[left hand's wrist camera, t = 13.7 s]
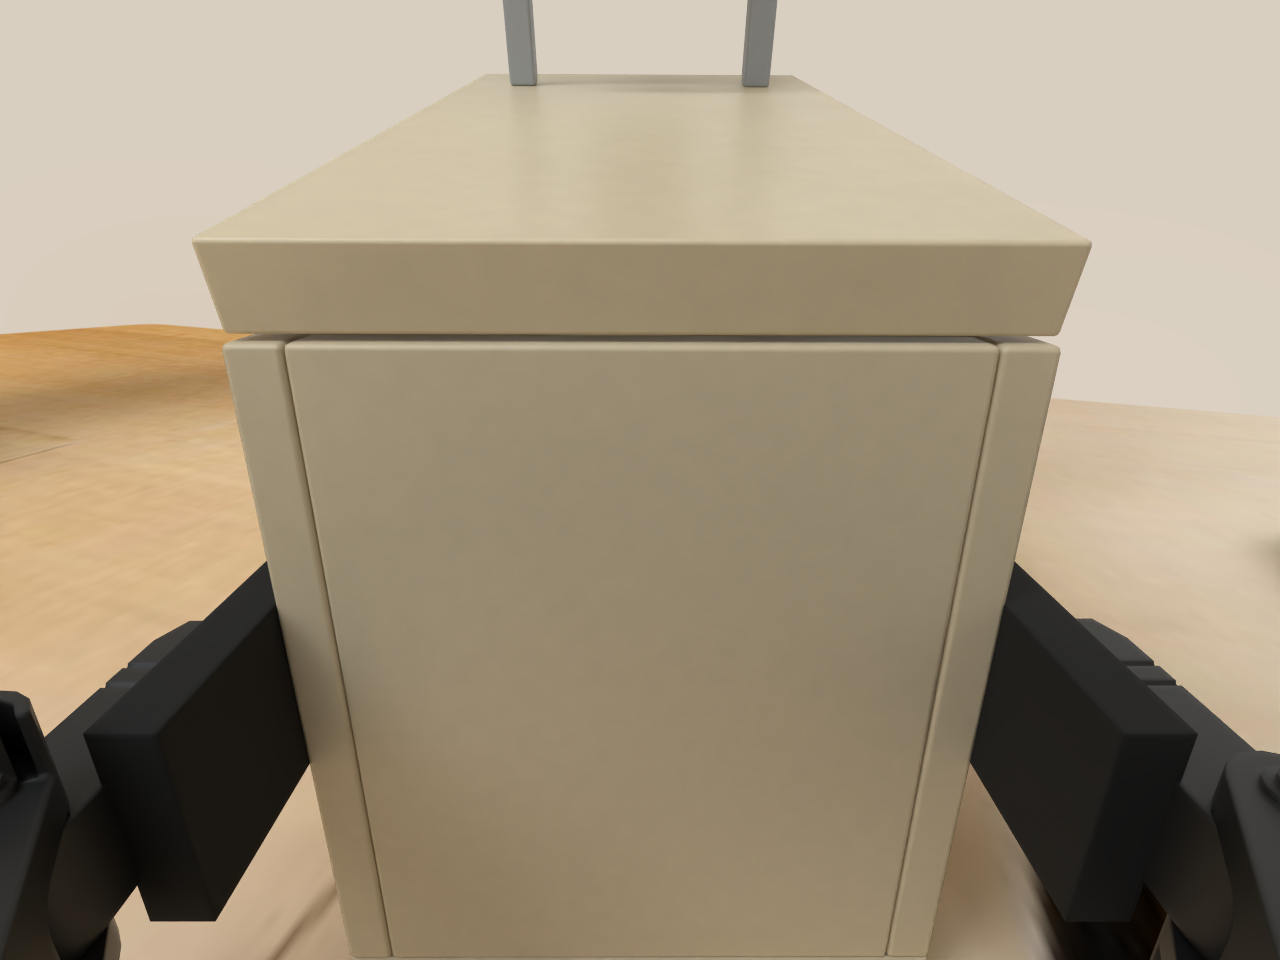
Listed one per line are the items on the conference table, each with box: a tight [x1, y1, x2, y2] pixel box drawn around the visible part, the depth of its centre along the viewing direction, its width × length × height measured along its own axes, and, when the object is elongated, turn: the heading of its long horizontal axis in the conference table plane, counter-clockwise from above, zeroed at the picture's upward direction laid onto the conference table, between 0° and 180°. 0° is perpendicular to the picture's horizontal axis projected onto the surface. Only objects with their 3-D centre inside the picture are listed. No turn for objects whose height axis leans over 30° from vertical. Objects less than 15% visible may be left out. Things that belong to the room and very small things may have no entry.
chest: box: [222, 334, 1060, 960], centre depth 18 cm, size 17×10×11 cm, turn 0°
